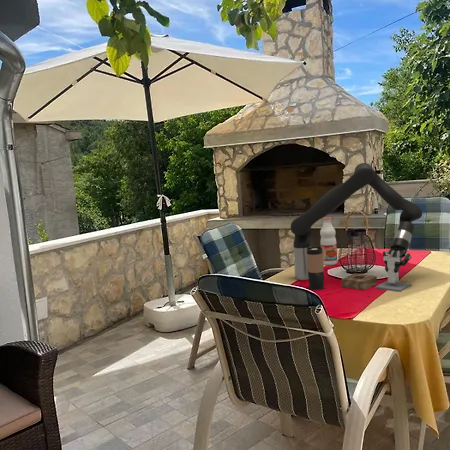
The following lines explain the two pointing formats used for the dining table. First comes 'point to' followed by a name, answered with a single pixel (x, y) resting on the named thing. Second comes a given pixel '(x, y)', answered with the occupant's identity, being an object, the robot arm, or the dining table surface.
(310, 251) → the travel mug
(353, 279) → the socket block
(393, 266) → the t key
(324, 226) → the fruit juice
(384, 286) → the grey mat
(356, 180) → the robot arm
